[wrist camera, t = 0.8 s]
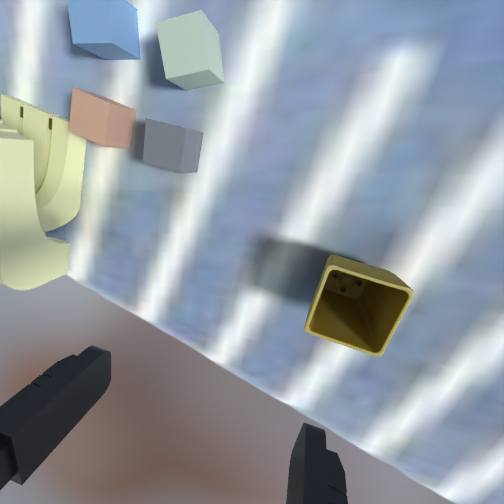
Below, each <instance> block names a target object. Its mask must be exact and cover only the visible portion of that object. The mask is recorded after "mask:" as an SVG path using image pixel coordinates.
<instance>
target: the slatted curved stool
mask: <svg viewBox="0 0 504 504" xmlns="http://www.w3.org/2000/svg"><path fill="white" fill-rule="evenodd" d="M69 123H70V120H69V119H66V118H63V117H59V115H57V114H54V113H52V112H49V111H47V110H44V109H42V108H40V107H37V106H32V105H31V104H30V103H27V102H25V101H22V100H20V99H18V98H15V97H13V96H10V95H1V120H0V283H2V284H4V285H6V286H8V287H10V288H13V289H15V290H28V289H33V288H35V287H38V286H40V285H43V284H45V283H47V282H49V281H51V280H54V279H56V278H58V277H60V276H62V275H65V274H67V273H68V263H69V252H70V243H68V242H65V241H62V240H60V239H57V238H54V237H46V232H48V231H51V230H54V229H56V228H59V227H61V226H63V225H65V224H66V223H68V222H69V221H71V220H72V219H73V218H74V217H75V216H76V215H77V213H78V212H79V209H80V200H81V189H82V179H83V168H84V158H85V148H86V138H83V137H81V136H79V135H77V134H74V133H72V132H70V131H69Z"/></svg>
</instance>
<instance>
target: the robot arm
mask: <svg viewBox="0 0 504 504" xmlns="http://www.w3.org/2000/svg"><path fill="white" fill-rule="evenodd" d="M110 381H111V353H110V352H109V351H106V350H104V349H101V348H98V347H95V346H90V347H88V348H86V349H85V350H84V351H83V352H82V353H80V354H79V355H78V356H76V355H71V356H69V357H67V358H64V359H62V360H60V361H58V362H56V363H55V364H54V365H53V366H51V367H50V368H49V369H47V370H46V371H45V372H44V373H43V374H42V375H40V376H39V377H37V378H36V379H35V380H33V381H32V383H31V384H30V385H27V386H26V387H25V388H23V389H22V390H21V391H20V392H18V393H17V394H16V395H14V396H13V397H12V398H11V399H9V400H8V401H7V402H6V403H4V404H3V405H2V406H0V490H1V489H2V488H3V487H4V486H5V485H6V484H7V483H8V482H9V481H10V480H12V481H14V482H16V483H18V484H21V485H22V484H23V483H24V482H25V481H26V480H27V479H28V478H29V477H30V476H31V474H32V473H33V472H34V471H35V470H36V469H37V468H38V467H39V466H40V464H41V463H42V462H43V461H44V460H45V459H46V458H47V457H48V455H49V454H50V453H51V452H52V451H53V450H54V449H55V448H56V447H57V445H58V444H59V443H60V442H61V441H62V440H63V439H64V438H65V437H66V435H67V434H68V433H69V432H70V431H71V430H72V429H73V428H74V427H75V425H76V424H77V423H78V422H79V421H80V420H81V419H82V418H83V416H84V415H85V414H86V413H87V412H88V411H89V410H90V409H91V407H92V406H93V405H94V404H95V403H96V402H97V401H98V400H99V399H100V398H101V396H102V395H103V394H104V393H105V391H106V390H107V388H108V386H109V384H110ZM346 492H347V490H346V480H345V471H344V469H343V466H342V464H341V462H340V459H339V457H338V454H337V453H335V452H332V451H329V450H327V449H326V434H325V431H324V430H323V429H321V428H318V427H315V426H312V425H309V424H307V423H304V424H303V425H302V428H301V430H300V433H299V435H298V438H297V440H296V442H295V445H294V448H293V450H292V454H291V460H290V466H289V477H288V489H287V502H286V504H348V501H347V496H346Z"/></svg>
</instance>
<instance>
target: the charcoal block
mask: <svg viewBox="0 0 504 504" xmlns="http://www.w3.org/2000/svg"><path fill="white" fill-rule="evenodd" d="M202 137H203V133H202V132H198V131H194V130H190V129H186V128H182V127H179V126H175V125H171V124H167V123H163V122H159V121H155V120H151V119H147V118H146V123H145V137H144V150H143V163H144V164H148V165H151V166H155V167H158V168H162V169H166V170H169V171H173V172H176V173H180V174H181V173H192V172H197V170H198V164H199V157H200V150H201V144H202Z"/></svg>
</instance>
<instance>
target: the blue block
mask: <svg viewBox="0 0 504 504" xmlns="http://www.w3.org/2000/svg"><path fill="white" fill-rule="evenodd" d="M67 5H68V12H69V19H70V26H71V34H72V41H73V44H75V45H77V46H79V47H81V48H83V49H85V50H87V51H89V52H91V53H93V54H95V55H97V56H99V57H101V58H103V59H105V60H124V59H140V48H139V34H138V19H137V9H136V8H135V7H134V6H132V5H131V4H130V3H129V2H128V1H127V0H67Z"/></svg>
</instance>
